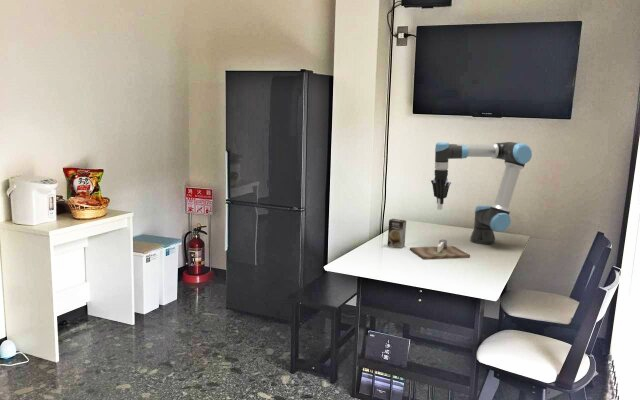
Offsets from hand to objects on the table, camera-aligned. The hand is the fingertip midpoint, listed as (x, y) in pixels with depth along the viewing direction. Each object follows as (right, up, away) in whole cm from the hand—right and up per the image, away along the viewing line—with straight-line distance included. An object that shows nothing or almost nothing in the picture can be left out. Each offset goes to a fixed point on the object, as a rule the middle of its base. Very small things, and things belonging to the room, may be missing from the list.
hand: (439, 209), depth 316 cm
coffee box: (-25, -23, +8) cm, 34 cm away
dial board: (-2, -25, -6) cm, 26 cm away
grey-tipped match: (0, -23, -5) cm, 24 cm away
